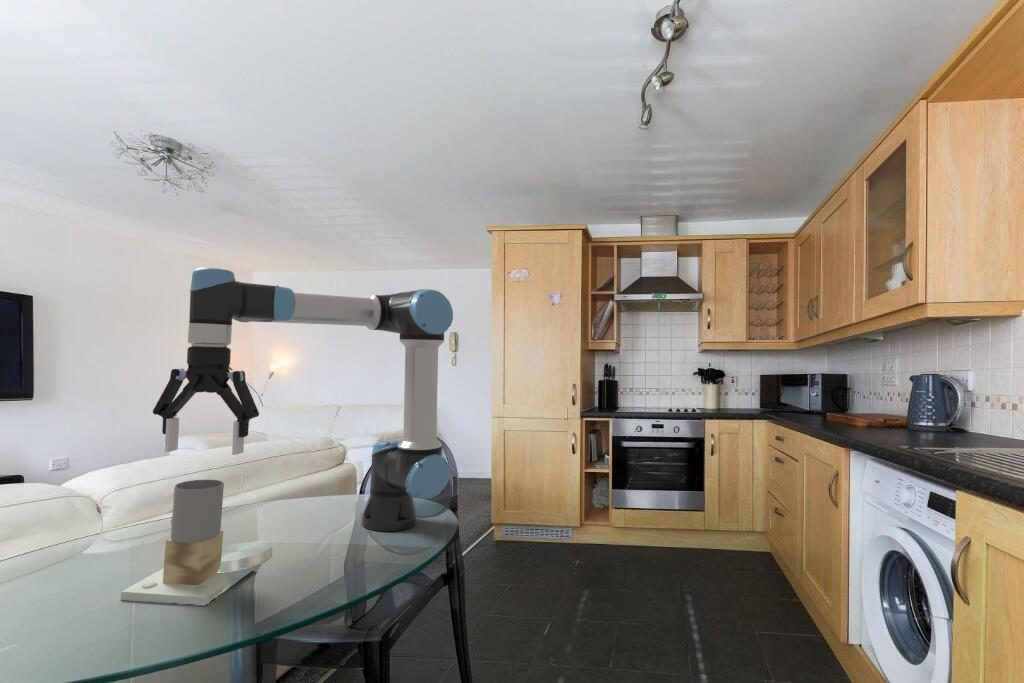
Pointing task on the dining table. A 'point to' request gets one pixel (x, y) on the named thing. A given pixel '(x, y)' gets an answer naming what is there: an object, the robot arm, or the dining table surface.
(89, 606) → the dining table surface
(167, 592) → the plate
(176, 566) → the oak block
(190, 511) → the cup
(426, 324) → the robot arm
